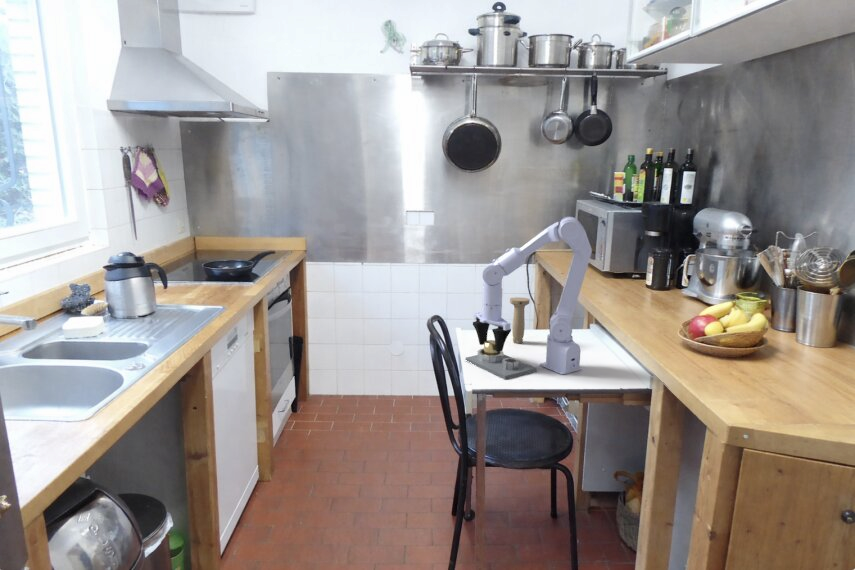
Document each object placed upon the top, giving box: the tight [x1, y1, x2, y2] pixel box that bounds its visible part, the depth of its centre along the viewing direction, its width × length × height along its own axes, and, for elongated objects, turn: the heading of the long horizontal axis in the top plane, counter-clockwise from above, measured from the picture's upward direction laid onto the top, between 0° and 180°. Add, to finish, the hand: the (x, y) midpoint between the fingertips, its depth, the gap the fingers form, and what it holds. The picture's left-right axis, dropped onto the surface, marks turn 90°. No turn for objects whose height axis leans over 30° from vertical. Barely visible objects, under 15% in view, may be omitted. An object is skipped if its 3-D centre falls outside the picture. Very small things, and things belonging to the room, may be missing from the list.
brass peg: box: [483, 339, 499, 355], centre depth 172 cm, size 4×4×5 cm
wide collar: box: [476, 347, 505, 363], centre depth 172 cm, size 8×8×2 cm
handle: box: [509, 296, 531, 344], centre depth 189 cm, size 5×6×15 cm
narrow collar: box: [502, 357, 520, 370], centre depth 164 cm, size 5×5×2 cm
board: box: [465, 354, 537, 380], centre depth 168 cm, size 18×12×1 cm, turn 34°
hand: (490, 347), depth 171 cm, fingers open, 7 cm apart
